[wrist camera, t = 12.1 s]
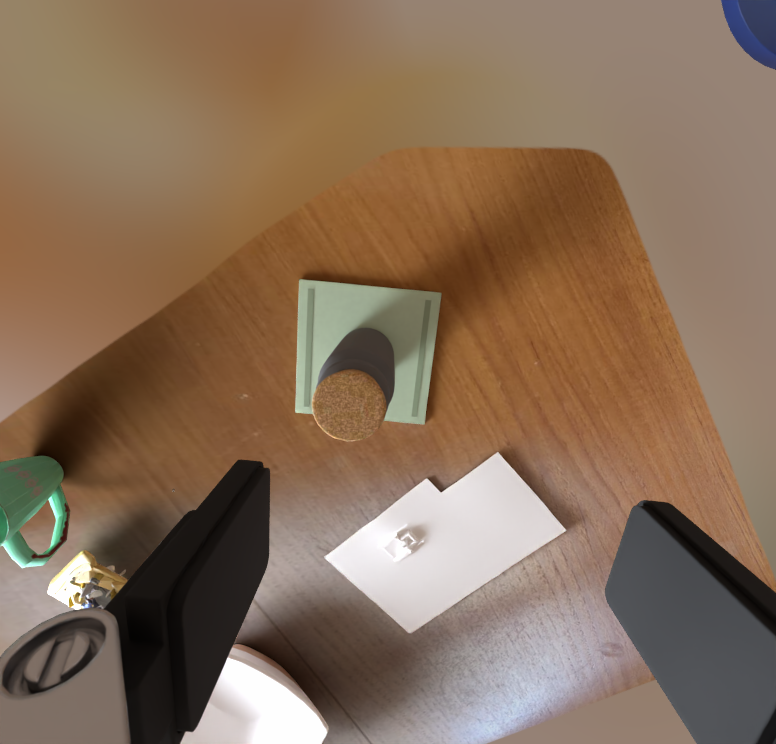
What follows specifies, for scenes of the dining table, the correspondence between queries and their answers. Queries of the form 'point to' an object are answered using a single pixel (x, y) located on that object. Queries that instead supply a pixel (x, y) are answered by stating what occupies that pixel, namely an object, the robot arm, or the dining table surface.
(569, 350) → the dining table surface
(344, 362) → the bottle
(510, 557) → the paper
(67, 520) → the mug
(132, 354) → the dining table surface
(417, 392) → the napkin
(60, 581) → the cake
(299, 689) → the bowl
